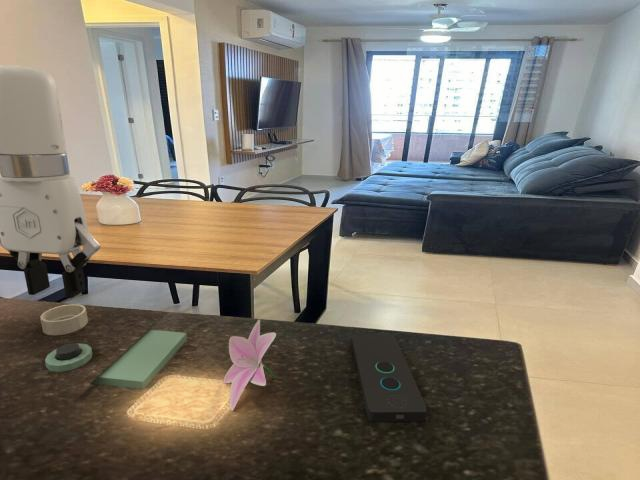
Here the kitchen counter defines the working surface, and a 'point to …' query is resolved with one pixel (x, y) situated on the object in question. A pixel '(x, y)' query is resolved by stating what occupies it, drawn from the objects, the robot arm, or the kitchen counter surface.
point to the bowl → (64, 319)
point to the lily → (247, 362)
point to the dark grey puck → (68, 351)
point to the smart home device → (386, 380)
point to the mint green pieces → (128, 360)
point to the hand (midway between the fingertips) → (57, 291)
